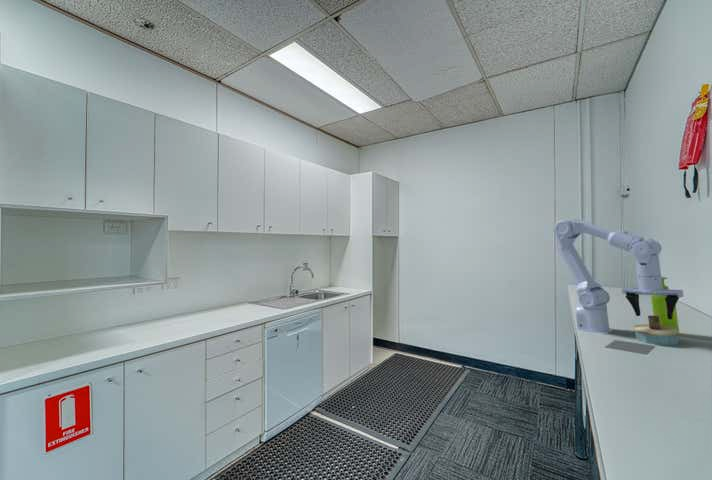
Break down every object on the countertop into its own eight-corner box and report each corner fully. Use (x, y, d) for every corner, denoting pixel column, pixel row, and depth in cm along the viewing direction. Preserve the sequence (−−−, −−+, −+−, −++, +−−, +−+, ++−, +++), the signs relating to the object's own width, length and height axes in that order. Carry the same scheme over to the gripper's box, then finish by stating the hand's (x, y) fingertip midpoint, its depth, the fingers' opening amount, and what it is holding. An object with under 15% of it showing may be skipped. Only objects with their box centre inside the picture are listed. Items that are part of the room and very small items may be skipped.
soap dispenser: (665, 330, 109) (659, 275, 110) (684, 335, 102) (677, 276, 103) (648, 331, 110) (641, 276, 111) (665, 336, 103) (658, 278, 104)
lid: (629, 331, 101) (627, 317, 101) (639, 325, 106) (637, 311, 107) (673, 337, 92) (671, 321, 92) (682, 330, 98) (680, 315, 98)
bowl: (632, 342, 101) (631, 331, 101) (641, 335, 106) (640, 325, 106) (674, 348, 93) (673, 336, 93) (681, 340, 98) (680, 330, 98)
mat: (604, 348, 97) (604, 347, 97) (615, 341, 103) (615, 339, 103) (646, 355, 89) (646, 354, 89) (655, 347, 95) (655, 346, 95)
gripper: (617, 276, 104) (621, 316, 103) (677, 278, 92) (683, 322, 91) (623, 274, 108) (628, 312, 107) (682, 275, 96) (687, 318, 95)
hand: (653, 317), depth 100 cm, fingers open, 7 cm apart
